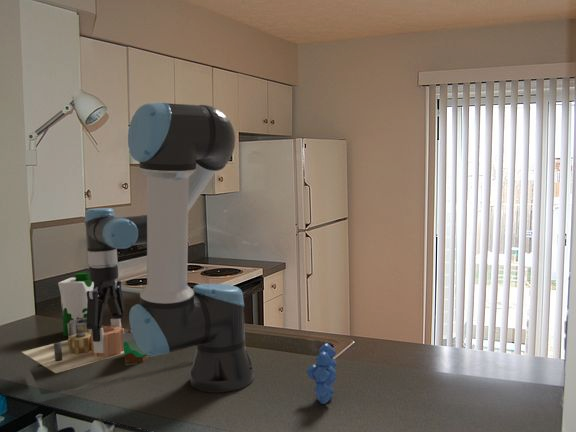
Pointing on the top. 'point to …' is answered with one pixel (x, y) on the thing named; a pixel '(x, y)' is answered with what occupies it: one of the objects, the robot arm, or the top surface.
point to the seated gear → (78, 326)
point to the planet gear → (111, 341)
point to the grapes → (324, 373)
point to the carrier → (66, 353)
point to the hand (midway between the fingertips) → (108, 346)
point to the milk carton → (74, 298)
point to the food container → (132, 350)
